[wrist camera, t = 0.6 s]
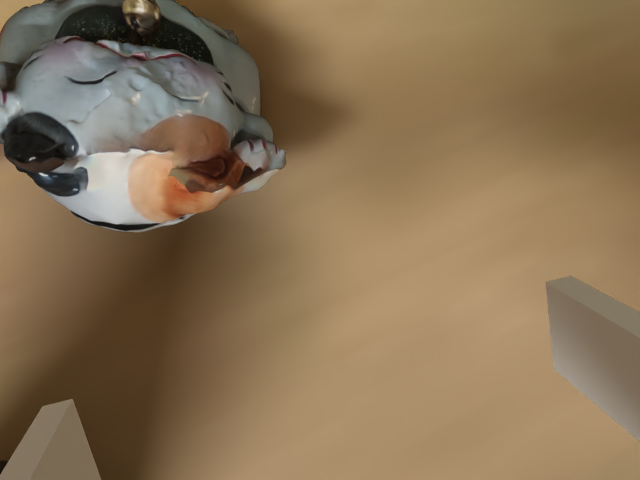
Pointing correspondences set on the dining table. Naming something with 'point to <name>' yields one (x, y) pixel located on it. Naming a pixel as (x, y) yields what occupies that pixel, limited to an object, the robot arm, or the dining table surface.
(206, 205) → the grey sculpted piece
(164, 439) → the dining table surface
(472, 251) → the dining table surface
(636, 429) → the robot arm
